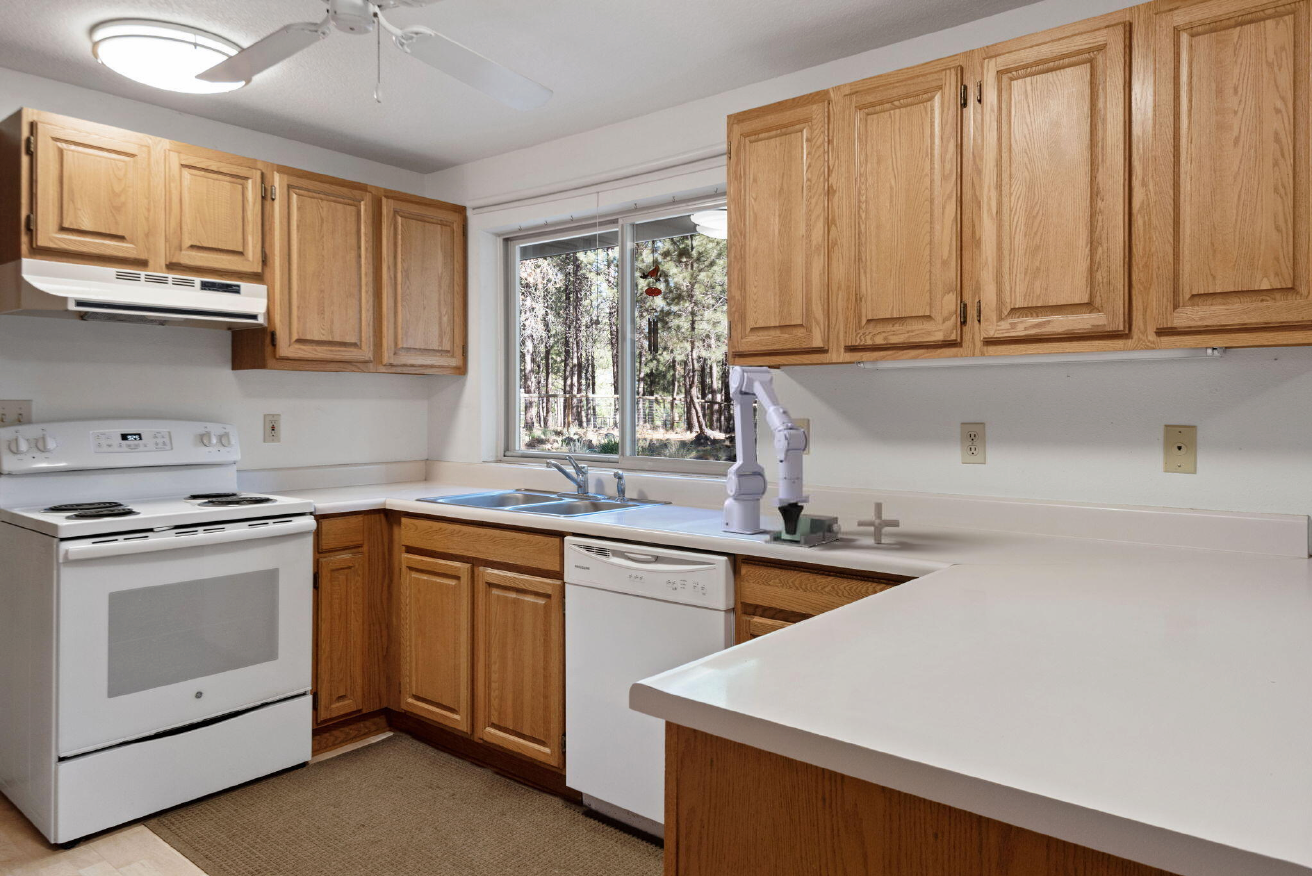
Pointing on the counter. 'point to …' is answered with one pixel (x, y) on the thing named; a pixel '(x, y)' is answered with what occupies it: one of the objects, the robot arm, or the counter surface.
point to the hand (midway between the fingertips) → (790, 534)
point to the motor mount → (811, 532)
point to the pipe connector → (877, 522)
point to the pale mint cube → (798, 529)
